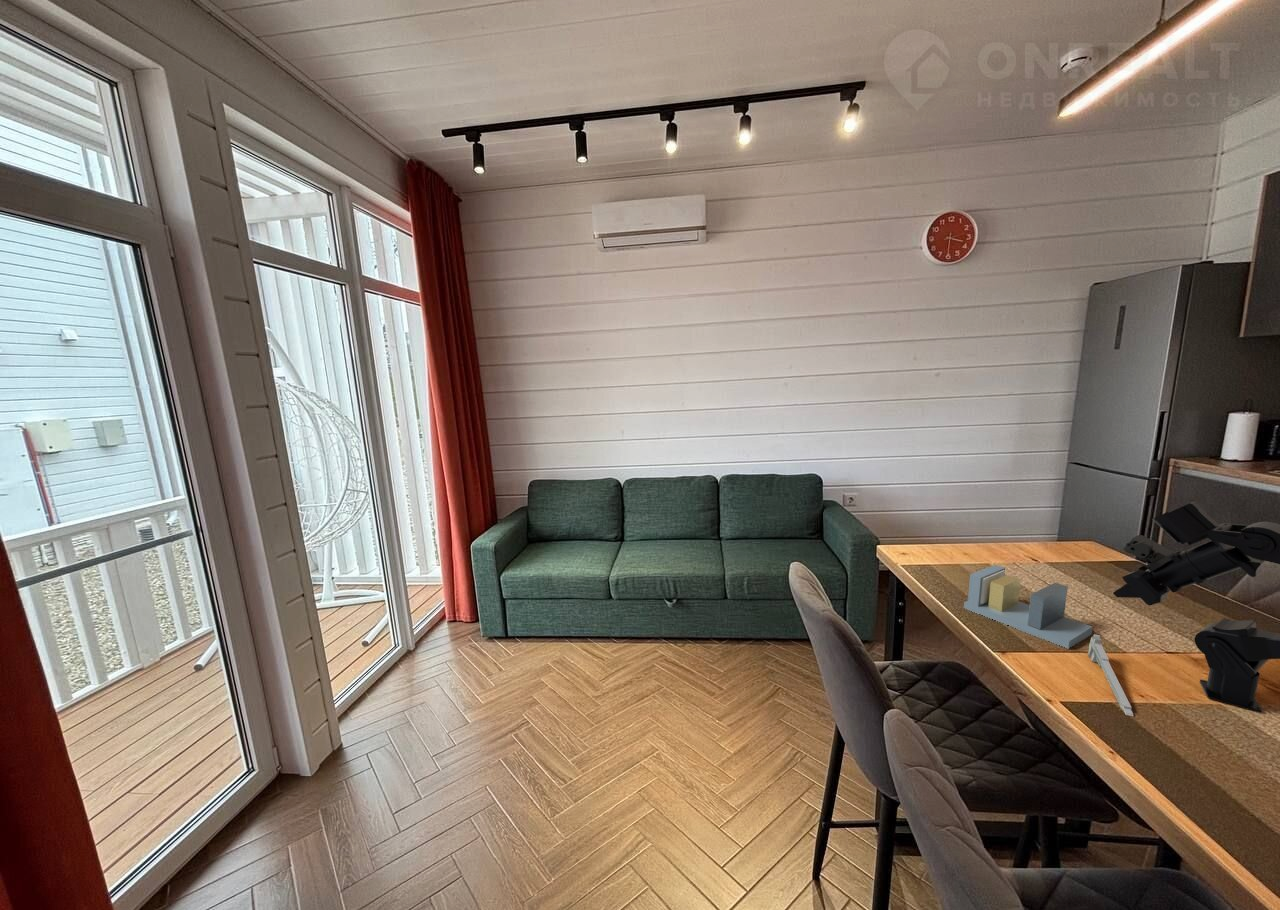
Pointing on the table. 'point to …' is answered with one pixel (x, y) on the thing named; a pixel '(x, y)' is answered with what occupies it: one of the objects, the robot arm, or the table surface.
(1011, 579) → the pale yellow wooden block
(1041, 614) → the sliding jaw
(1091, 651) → the caliper
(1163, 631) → the table surface
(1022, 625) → the vise
